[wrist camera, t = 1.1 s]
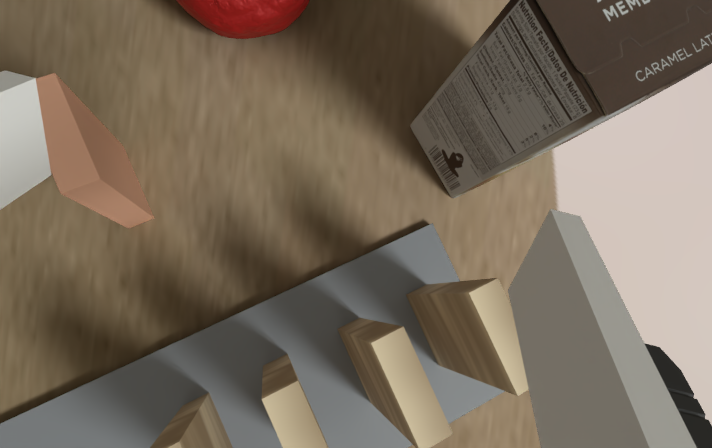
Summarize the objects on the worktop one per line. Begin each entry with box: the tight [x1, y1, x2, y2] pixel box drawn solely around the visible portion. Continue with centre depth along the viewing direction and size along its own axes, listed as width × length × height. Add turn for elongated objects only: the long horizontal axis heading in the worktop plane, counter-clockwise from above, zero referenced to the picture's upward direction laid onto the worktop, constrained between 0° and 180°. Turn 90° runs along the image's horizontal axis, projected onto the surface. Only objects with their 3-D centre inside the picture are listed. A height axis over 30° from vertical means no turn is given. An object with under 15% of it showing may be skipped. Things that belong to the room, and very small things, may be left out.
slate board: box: [0, 223, 504, 448], centre depth 29 cm, size 12×28×1 cm, turn 115°
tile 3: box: [262, 354, 329, 448], centre depth 24 cm, size 2×5×10 cm, turn 25°
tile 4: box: [337, 318, 453, 448], centre depth 25 cm, size 2×5×10 cm, turn 26°
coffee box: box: [410, 0, 712, 198], centre depth 27 cm, size 9×6×16 cm
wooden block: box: [406, 278, 529, 396], centre depth 26 cm, size 2×5×10 cm, turn 25°
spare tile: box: [36, 73, 154, 228], centre depth 25 cm, size 2×5×10 cm, turn 25°
